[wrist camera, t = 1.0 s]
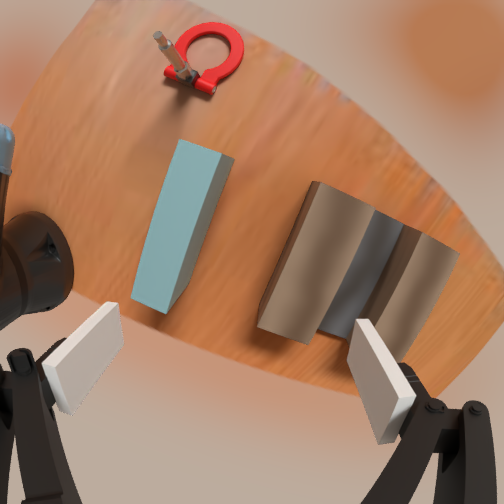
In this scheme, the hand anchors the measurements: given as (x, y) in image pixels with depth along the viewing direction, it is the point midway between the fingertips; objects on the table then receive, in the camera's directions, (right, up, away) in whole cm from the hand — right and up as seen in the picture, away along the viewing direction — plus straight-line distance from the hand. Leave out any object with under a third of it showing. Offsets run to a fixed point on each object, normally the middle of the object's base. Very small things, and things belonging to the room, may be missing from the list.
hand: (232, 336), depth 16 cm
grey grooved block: (+13, +2, +20) cm, 24 cm away
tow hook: (-4, +28, +15) cm, 32 cm away
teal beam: (-6, +8, +20) cm, 22 cm away
